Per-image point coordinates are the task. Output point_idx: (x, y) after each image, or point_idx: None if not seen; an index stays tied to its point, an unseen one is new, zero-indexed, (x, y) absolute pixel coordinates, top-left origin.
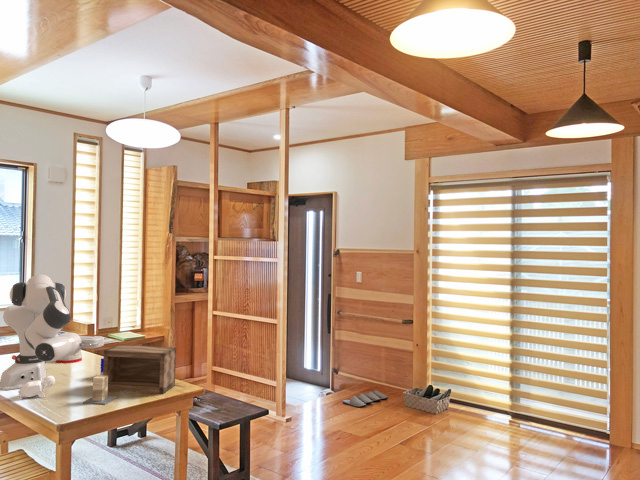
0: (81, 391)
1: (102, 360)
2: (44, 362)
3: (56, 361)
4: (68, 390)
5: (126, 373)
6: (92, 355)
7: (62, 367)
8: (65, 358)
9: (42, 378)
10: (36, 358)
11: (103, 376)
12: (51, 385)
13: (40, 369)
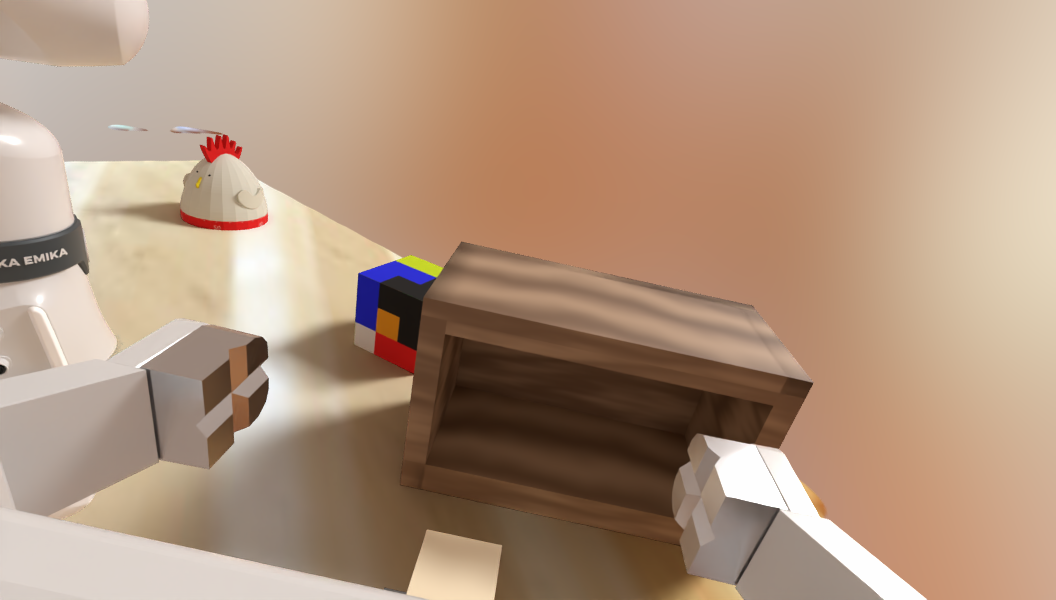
0: (286, 493)
1: (365, 282)
2: (77, 272)
3: (182, 217)
4: (211, 474)
5: (489, 374)
6: (297, 204)
7: (200, 251)
8: (212, 213)
9: (72, 355)
10: (4, 260)
11: (475, 564)
12: (72, 513)
13: (46, 317)
